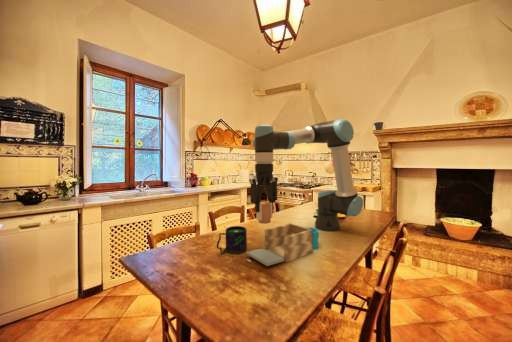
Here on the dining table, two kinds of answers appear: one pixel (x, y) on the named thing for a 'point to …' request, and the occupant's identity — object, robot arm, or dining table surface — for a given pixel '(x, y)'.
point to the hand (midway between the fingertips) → (264, 218)
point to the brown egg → (265, 214)
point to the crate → (289, 241)
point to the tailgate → (265, 256)
